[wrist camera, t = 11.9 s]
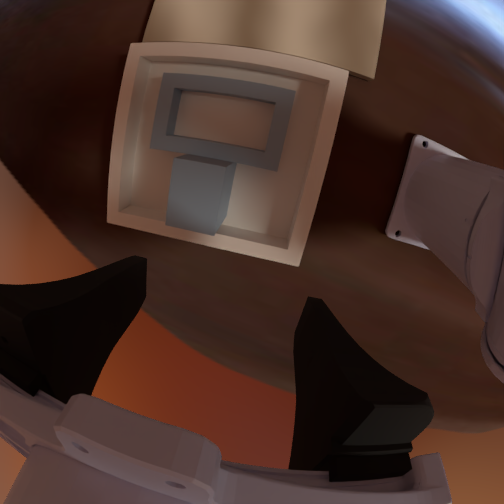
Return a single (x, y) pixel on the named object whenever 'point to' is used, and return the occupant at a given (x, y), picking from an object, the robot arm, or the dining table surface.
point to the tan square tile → (279, 28)
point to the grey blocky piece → (212, 149)
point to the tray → (227, 131)
